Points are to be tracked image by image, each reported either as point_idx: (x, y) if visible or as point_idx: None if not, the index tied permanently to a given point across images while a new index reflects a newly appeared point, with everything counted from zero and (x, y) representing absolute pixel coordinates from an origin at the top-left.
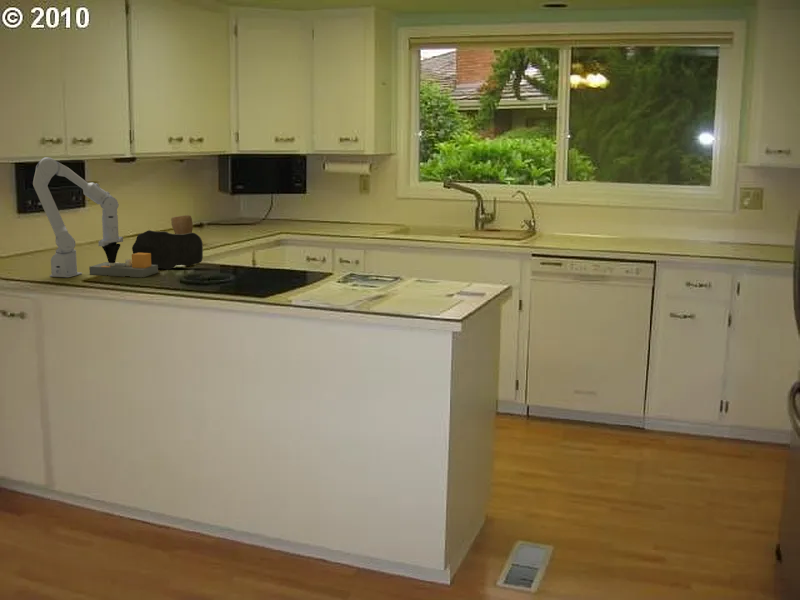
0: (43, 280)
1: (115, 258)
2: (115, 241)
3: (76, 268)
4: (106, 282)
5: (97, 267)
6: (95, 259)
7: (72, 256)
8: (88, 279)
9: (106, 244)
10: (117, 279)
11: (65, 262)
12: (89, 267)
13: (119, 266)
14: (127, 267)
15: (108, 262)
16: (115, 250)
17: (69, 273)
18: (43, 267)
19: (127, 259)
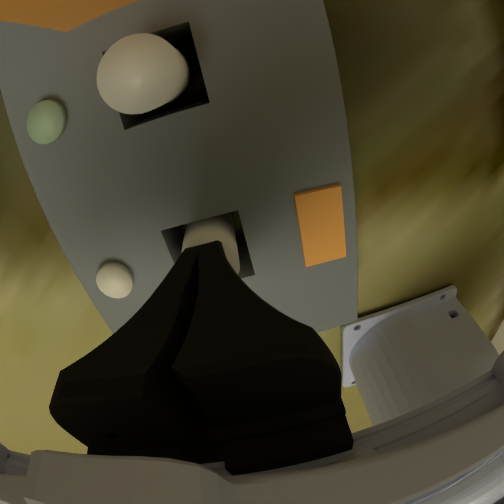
0: (494, 304)
1: (184, 264)
2: (273, 479)
3: (396, 339)
4: (499, 30)
5: (355, 267)
6: (62, 446)
7: (459, 385)
8: (472, 173)
9: (401, 427)
10: (418, 5)
11: (489, 345)
12: (355, 315)
13: (236, 131)
14: (245, 13)
15: None
16: (202, 320)
17: (435, 312)
18: None
19: (119, 108)
